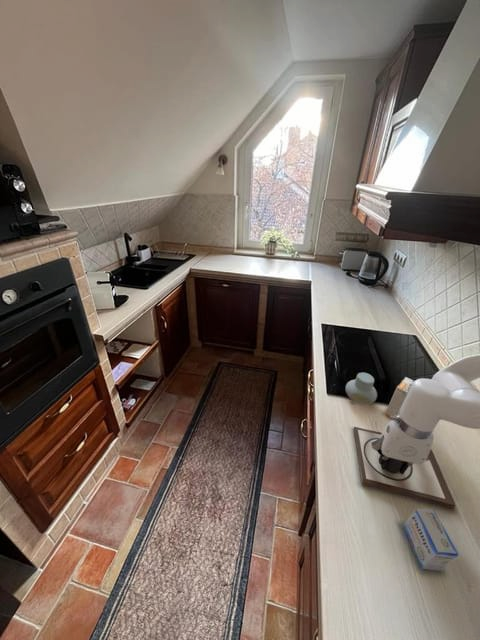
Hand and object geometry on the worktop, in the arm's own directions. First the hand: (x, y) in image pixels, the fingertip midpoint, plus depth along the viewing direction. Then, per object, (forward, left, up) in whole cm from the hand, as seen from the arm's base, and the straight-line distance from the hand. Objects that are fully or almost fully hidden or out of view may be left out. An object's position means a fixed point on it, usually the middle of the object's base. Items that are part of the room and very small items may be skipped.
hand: (391, 466), depth 72 cm
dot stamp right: (0, 0, 0) cm, 0 cm away
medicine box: (-3, +17, -2) cm, 17 cm away
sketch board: (-3, -3, -2) cm, 5 cm away
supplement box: (-8, -24, -2) cm, 25 cm away
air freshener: (+4, -28, -2) cm, 28 cm away
